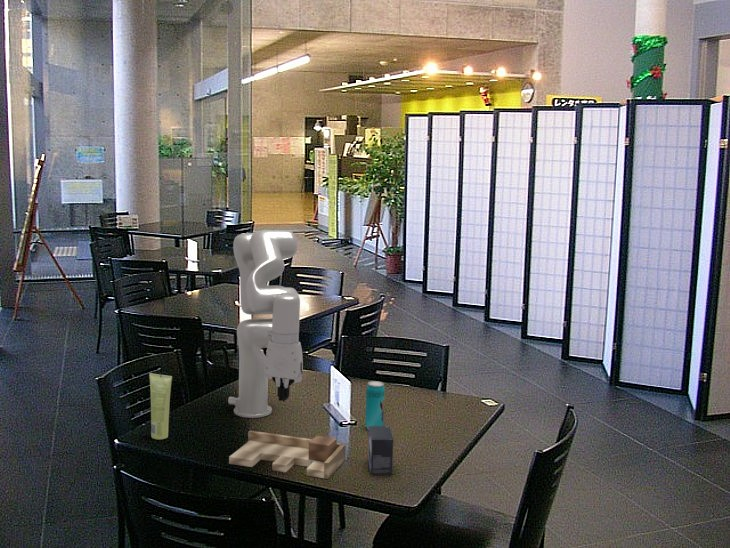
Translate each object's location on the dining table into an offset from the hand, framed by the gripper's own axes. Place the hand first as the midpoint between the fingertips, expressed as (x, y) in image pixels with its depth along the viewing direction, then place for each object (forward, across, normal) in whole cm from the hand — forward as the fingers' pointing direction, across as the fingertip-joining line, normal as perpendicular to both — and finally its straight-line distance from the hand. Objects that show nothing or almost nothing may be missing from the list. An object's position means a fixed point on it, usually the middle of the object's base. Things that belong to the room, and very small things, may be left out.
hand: (283, 399), depth 231 cm
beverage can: (+18, +19, +32) cm, 41 cm away
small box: (+17, +29, +2) cm, 33 cm away
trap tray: (+17, +3, -4) cm, 17 cm away
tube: (+18, -39, 0) cm, 43 cm away
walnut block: (+14, +13, -2) cm, 20 cm away
